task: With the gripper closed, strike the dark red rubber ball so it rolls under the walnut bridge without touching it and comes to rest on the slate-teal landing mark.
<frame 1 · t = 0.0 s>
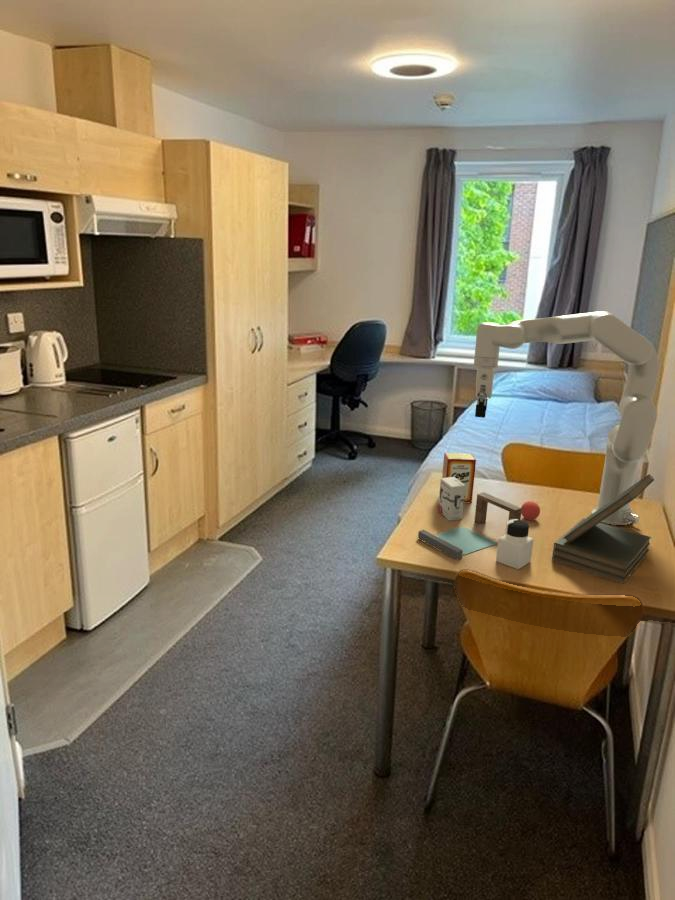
hand: (480, 413, 213), 31 cm above the table, tool pointing down, fingers open, 9 cm apart
ink box: (449, 515, 211), on the table
medicine bottle: (513, 562, 181), on the table
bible: (599, 560, 185), on the table
landing mark: (463, 540, 193), on the table
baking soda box: (455, 499, 225), on the table
bridge: (495, 530, 201), on the table
stopper wall: (439, 548, 187), on the table
ball: (530, 510, 209), on the table
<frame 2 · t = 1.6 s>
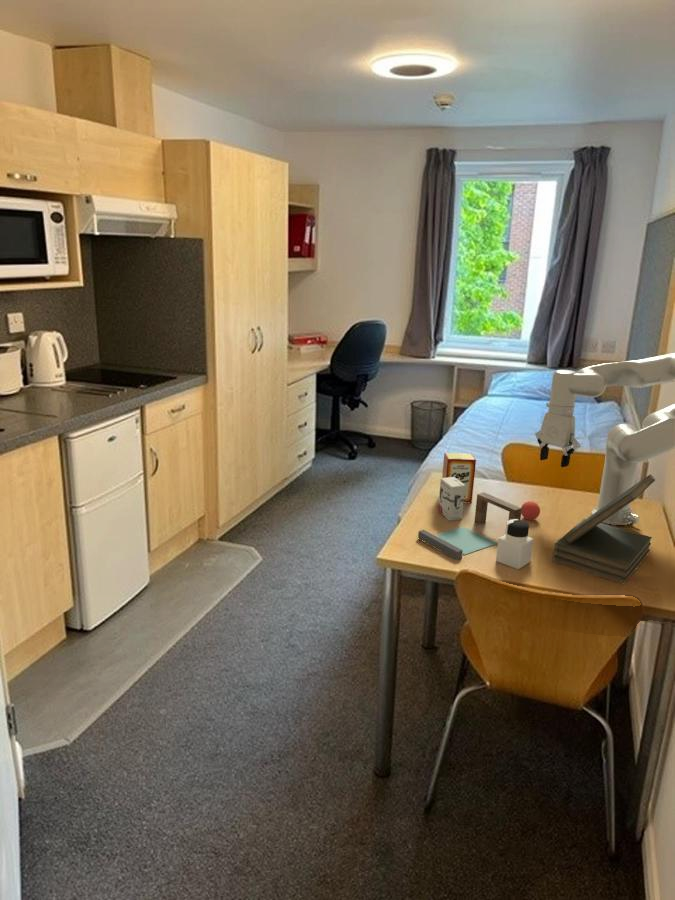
hand: (554, 462, 209), 18 cm above the table, tool pointing down, fingers open, 7 cm apart
nothing on the table moved.
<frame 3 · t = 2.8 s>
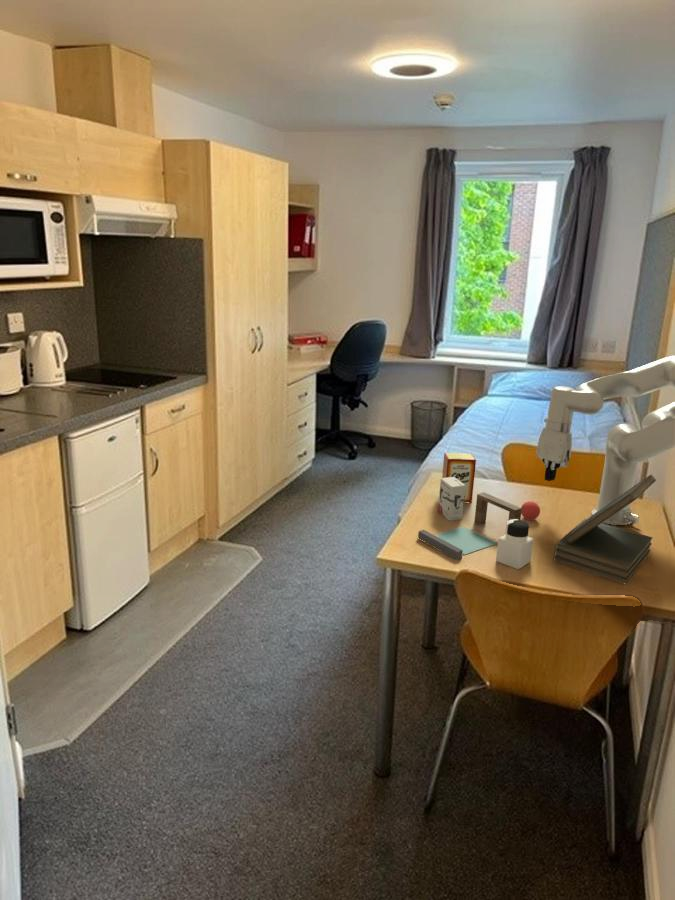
hand: (549, 479, 211), 12 cm above the table, tool pointing down, fingers closed
nothing on the table moved.
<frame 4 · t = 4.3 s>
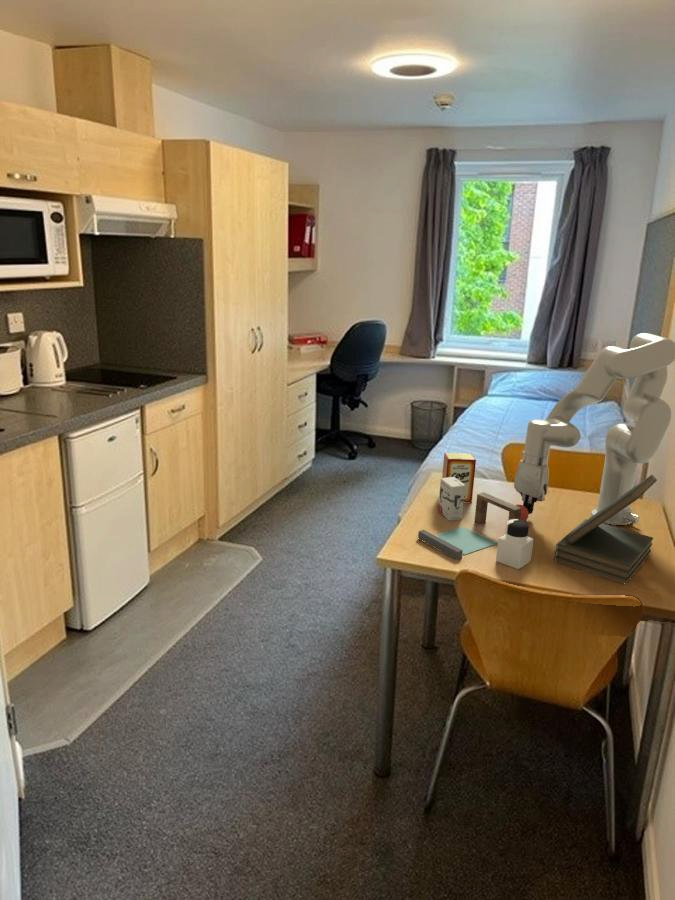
hand: (527, 513, 209), 2 cm above the table, tool pointing down, fingers closed
ball: (518, 514, 206), on the table
everything else where it was.
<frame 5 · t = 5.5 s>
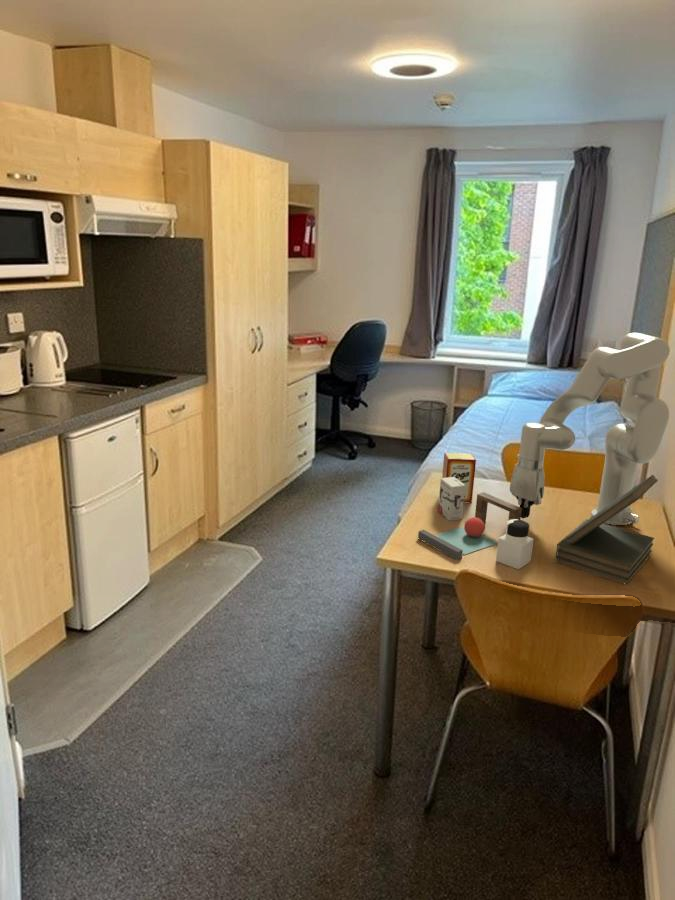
hand: (523, 516, 207), 2 cm above the table, tool pointing down, fingers closed
ball: (474, 527, 195), on the table
everything else where it was.
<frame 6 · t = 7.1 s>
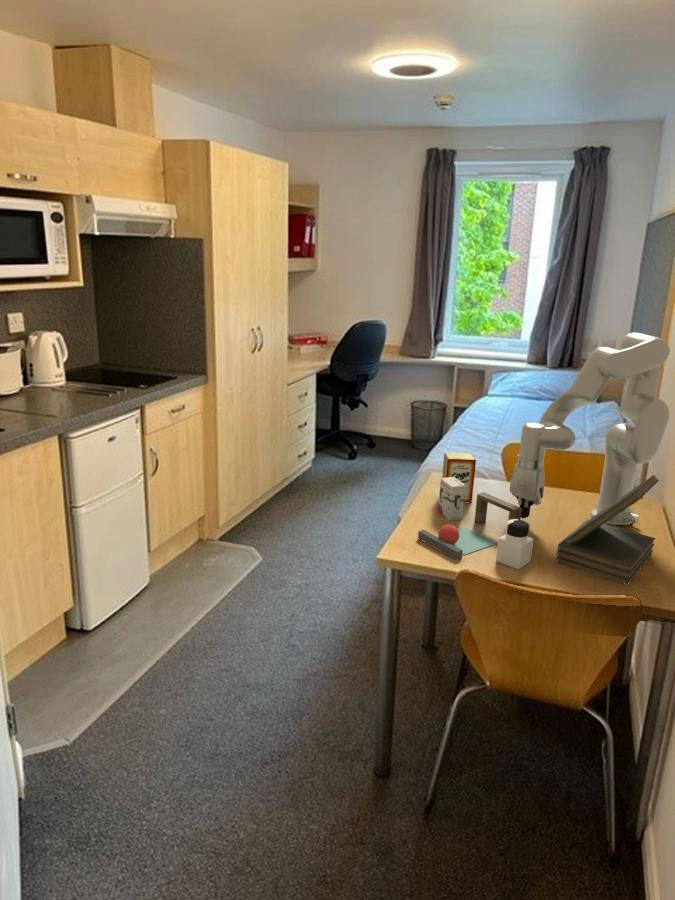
hand: (523, 516, 207), 2 cm above the table, tool pointing down, fingers closed
ball: (448, 535, 189), on the table
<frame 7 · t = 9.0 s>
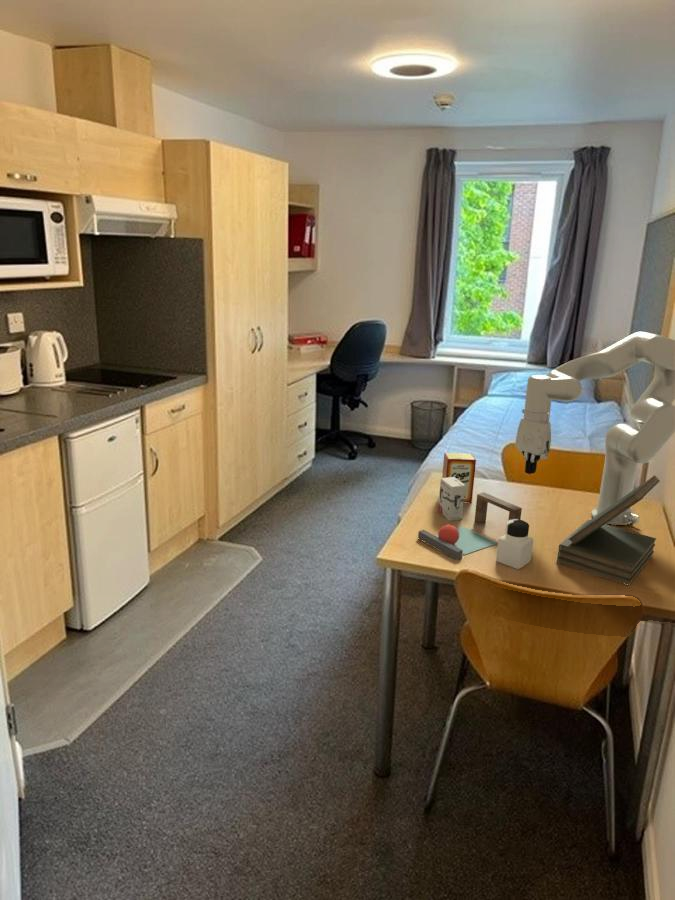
hand: (530, 472, 203), 17 cm above the table, tool pointing down, fingers closed
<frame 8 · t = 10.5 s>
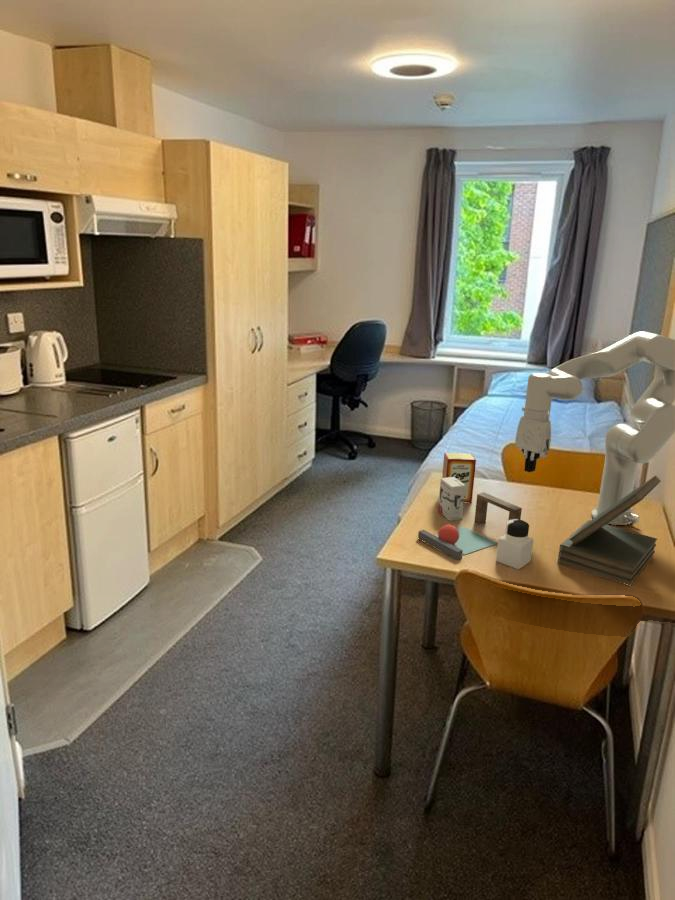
hand: (529, 470, 203), 17 cm above the table, tool pointing down, fingers closed
at the end: ball 6.1 cm from the landing mark (horizontally); ball never touched bridge; ball at rest at the end (0.0 cm/s) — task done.
